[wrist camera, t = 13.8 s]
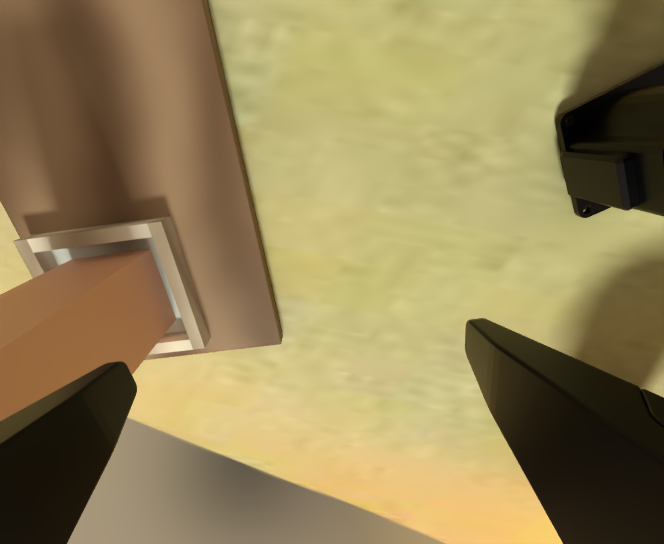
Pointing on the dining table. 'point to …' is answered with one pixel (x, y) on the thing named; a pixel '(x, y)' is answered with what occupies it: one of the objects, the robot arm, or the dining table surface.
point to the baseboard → (133, 158)
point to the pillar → (79, 323)
